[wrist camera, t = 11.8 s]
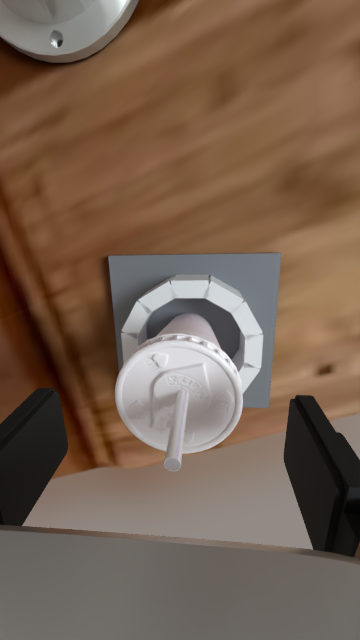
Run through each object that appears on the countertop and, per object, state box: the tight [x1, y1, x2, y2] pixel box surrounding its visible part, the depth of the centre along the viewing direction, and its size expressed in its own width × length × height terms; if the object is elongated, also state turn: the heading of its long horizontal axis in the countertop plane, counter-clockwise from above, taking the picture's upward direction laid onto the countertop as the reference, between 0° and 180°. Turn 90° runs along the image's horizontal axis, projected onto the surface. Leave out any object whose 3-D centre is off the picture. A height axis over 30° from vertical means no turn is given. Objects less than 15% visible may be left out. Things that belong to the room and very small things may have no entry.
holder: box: [108, 253, 281, 408], centre depth 22 cm, size 13×13×4 cm
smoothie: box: [115, 313, 243, 471], centre depth 16 cm, size 6×6×14 cm
